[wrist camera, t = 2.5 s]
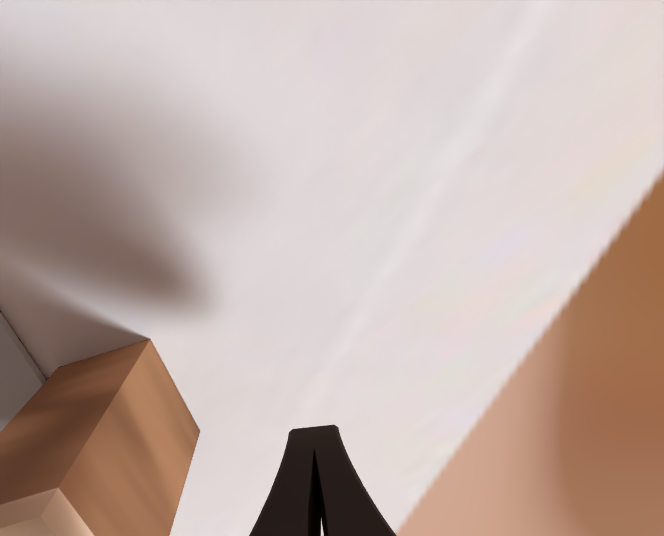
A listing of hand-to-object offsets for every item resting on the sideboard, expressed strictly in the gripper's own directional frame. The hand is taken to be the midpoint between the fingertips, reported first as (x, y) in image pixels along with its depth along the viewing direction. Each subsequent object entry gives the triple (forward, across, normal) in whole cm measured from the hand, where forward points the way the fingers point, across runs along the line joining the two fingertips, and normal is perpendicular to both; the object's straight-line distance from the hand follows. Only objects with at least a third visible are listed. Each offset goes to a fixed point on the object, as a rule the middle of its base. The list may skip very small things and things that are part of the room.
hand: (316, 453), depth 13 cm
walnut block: (+6, +8, +2) cm, 10 cm away
